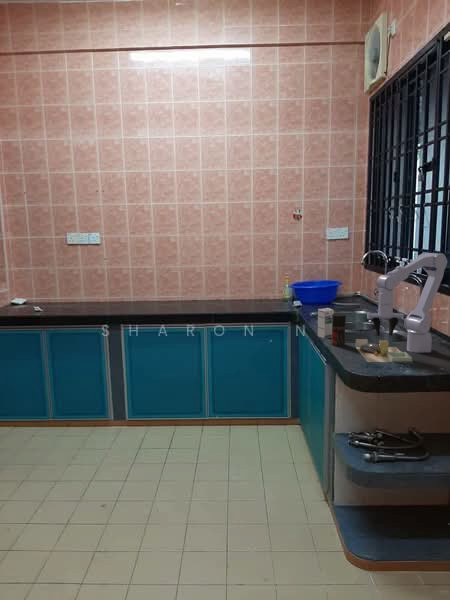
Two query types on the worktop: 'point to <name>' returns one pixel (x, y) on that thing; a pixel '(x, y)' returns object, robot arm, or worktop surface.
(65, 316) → the worktop surface
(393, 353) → the tray
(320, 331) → the syrup box
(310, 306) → the worktop surface
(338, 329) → the deodorant
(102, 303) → the worktop surface
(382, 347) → the block
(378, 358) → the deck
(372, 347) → the crank
